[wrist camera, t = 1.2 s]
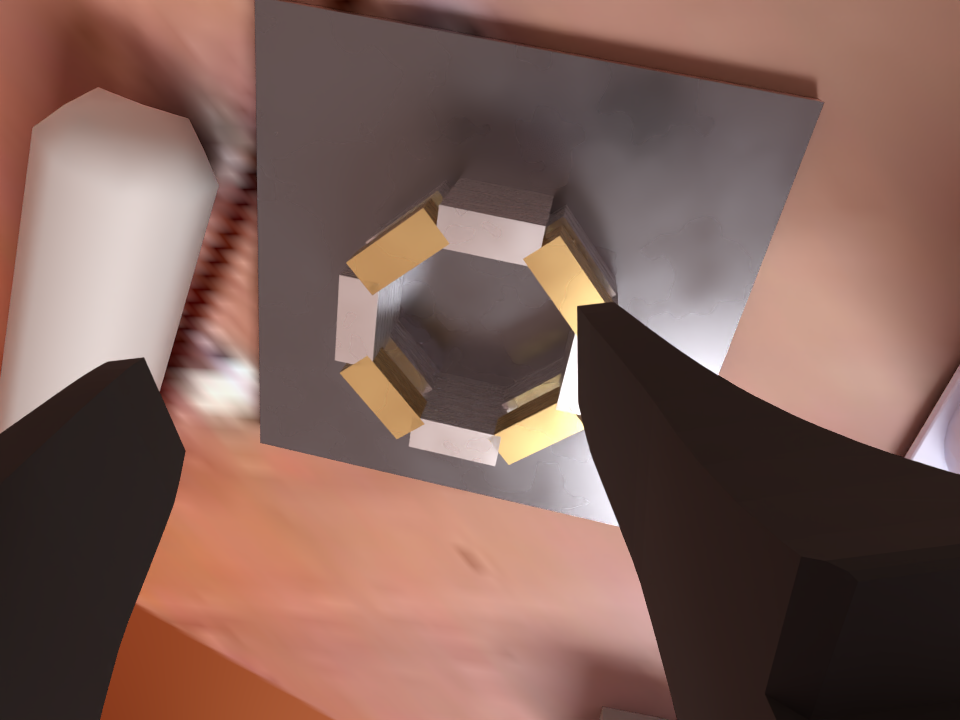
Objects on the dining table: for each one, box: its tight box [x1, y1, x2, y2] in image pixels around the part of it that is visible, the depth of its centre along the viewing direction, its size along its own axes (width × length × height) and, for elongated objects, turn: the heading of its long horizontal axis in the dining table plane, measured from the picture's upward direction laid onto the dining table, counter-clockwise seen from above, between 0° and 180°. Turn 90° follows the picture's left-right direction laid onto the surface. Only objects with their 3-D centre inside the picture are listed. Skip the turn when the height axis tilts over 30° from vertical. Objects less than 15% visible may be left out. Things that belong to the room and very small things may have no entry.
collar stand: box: [255, 0, 824, 526], centre depth 22 cm, size 16×16×4 cm
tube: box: [0, 87, 219, 433], centre depth 26 cm, size 5×5×25 cm
